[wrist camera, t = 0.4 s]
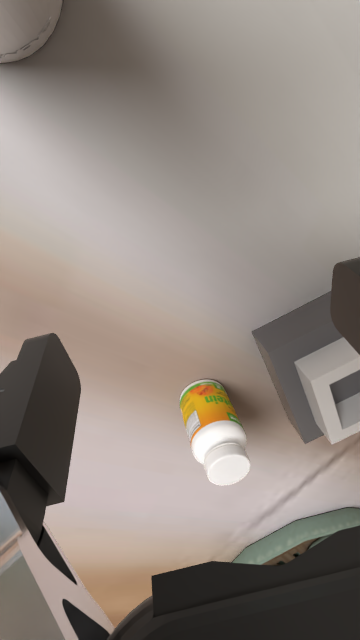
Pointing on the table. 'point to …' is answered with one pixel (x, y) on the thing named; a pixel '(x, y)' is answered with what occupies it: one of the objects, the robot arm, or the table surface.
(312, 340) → the square bottle holder
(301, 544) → the tea set
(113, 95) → the table surface
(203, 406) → the supplement bottle
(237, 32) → the table surface
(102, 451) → the table surface
